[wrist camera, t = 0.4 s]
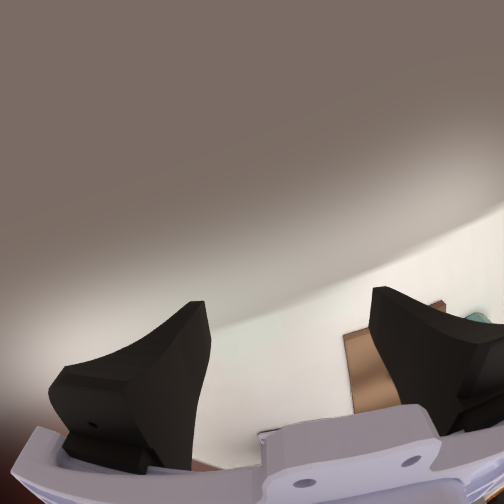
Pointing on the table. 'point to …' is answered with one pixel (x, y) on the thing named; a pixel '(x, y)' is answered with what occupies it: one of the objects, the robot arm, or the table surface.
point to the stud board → (371, 372)
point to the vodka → (495, 495)
